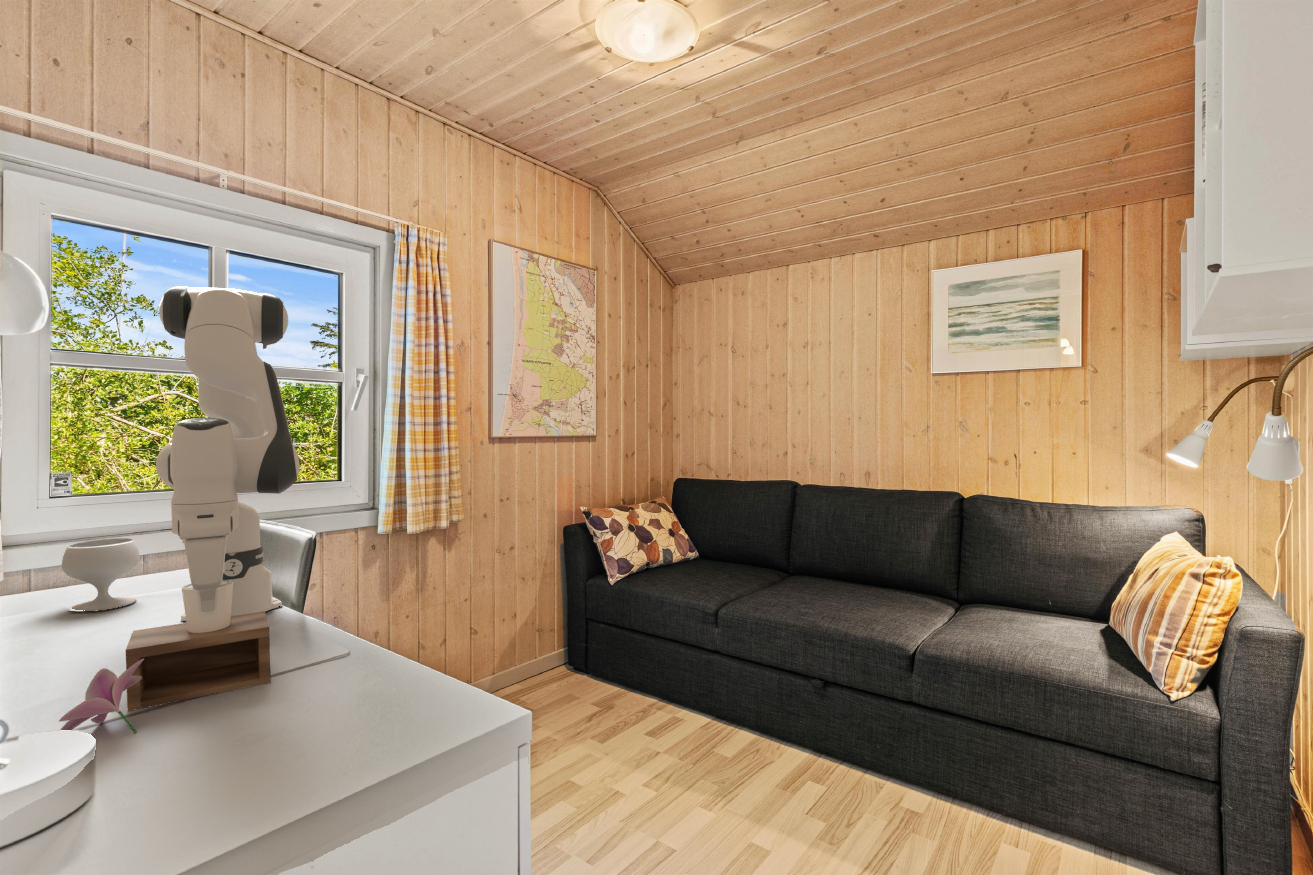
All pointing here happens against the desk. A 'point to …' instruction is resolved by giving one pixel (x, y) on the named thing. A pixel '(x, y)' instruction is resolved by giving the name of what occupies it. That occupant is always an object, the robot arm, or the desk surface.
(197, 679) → the walnut shelf
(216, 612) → the cream tapered cup
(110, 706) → the lily
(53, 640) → the desk surface
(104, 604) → the chalice
